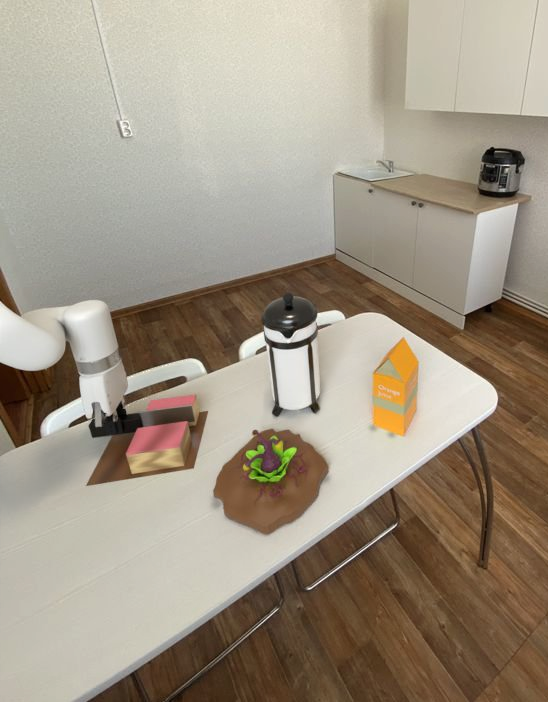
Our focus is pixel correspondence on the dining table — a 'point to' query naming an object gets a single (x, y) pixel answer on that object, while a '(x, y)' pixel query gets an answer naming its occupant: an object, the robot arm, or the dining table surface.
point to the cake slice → (176, 404)
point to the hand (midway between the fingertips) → (118, 428)
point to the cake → (150, 452)
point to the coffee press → (292, 353)
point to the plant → (270, 480)
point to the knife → (148, 419)
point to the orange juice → (395, 389)
